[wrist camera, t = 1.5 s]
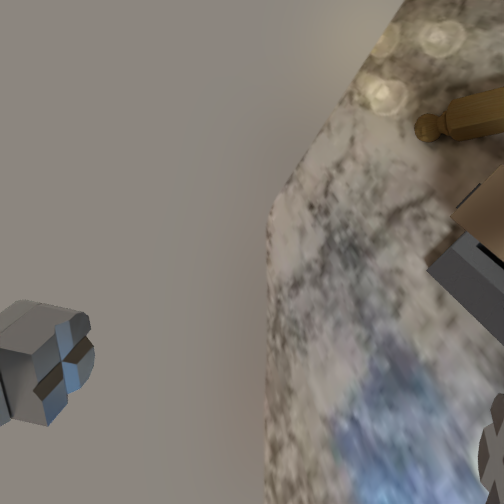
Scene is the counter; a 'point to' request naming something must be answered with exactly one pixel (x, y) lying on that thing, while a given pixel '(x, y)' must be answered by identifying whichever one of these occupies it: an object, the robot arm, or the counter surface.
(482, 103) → the tap handle
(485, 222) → the column
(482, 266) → the stand
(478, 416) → the counter surface
